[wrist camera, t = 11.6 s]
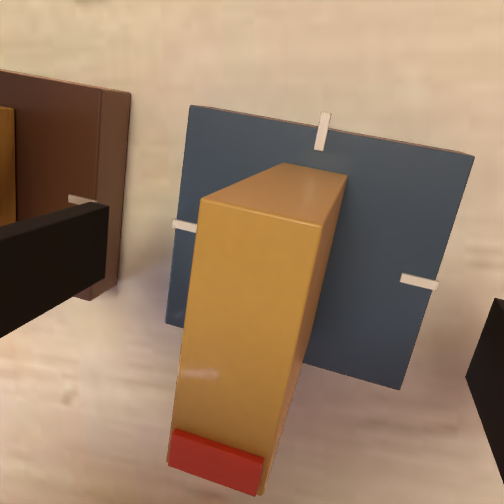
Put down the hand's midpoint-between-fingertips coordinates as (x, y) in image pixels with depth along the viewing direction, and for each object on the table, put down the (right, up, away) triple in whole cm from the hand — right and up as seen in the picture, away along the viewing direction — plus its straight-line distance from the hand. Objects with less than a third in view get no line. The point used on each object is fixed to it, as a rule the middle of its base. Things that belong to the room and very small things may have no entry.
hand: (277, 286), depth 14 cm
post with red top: (+1, +1, +4) cm, 4 cm away
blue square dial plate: (+2, +2, +6) cm, 7 cm away
